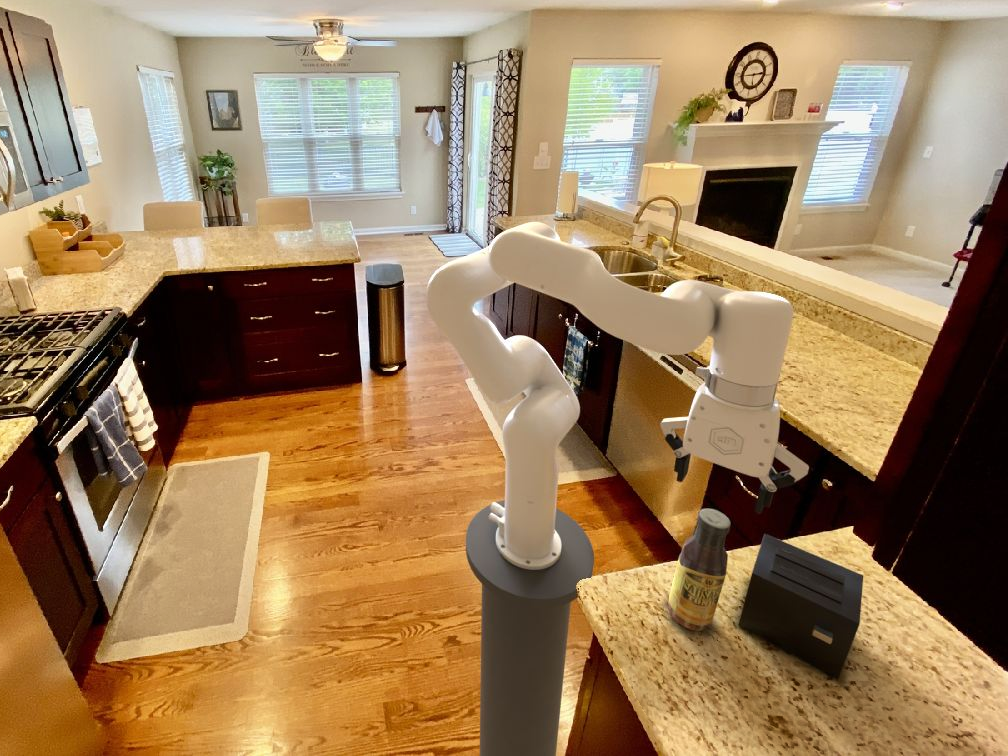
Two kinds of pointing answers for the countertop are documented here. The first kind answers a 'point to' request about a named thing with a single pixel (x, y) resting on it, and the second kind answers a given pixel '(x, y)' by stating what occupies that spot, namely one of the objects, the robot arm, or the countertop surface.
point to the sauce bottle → (700, 572)
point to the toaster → (803, 605)
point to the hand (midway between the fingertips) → (718, 491)
